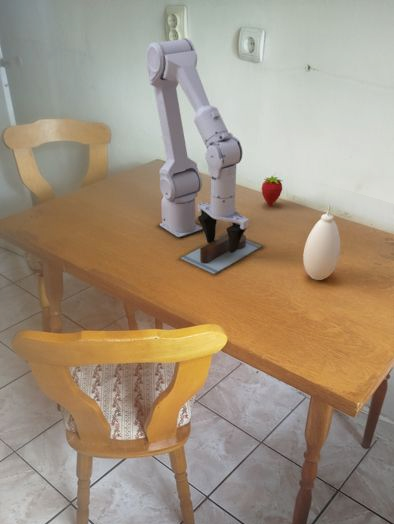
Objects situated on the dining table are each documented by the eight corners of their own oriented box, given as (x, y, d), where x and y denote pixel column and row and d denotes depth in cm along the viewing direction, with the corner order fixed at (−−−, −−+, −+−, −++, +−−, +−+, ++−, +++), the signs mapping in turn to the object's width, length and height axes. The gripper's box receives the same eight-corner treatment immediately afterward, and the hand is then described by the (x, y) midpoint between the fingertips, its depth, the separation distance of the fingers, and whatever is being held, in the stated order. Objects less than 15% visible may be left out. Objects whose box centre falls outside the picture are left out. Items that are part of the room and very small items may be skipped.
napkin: (181, 258, 124) (181, 257, 124) (228, 233, 134) (228, 232, 134) (214, 274, 119) (214, 273, 118) (261, 247, 129) (261, 245, 128)
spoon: (210, 266, 121) (210, 254, 118) (193, 259, 124) (193, 246, 121) (250, 244, 129) (251, 231, 127) (233, 237, 132) (233, 225, 130)
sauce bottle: (327, 290, 113) (341, 215, 101) (295, 281, 116) (304, 206, 104) (339, 274, 118) (353, 201, 106) (308, 266, 121) (318, 193, 109)
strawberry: (281, 201, 150) (284, 167, 144) (279, 212, 144) (283, 177, 138) (261, 200, 151) (263, 166, 145) (259, 210, 145) (261, 176, 139)
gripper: (258, 196, 115) (254, 249, 124) (211, 180, 123) (210, 232, 131) (238, 206, 111) (236, 260, 120) (191, 189, 119) (192, 241, 127)
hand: (221, 246), depth 125 cm, fingers open, 7 cm apart
